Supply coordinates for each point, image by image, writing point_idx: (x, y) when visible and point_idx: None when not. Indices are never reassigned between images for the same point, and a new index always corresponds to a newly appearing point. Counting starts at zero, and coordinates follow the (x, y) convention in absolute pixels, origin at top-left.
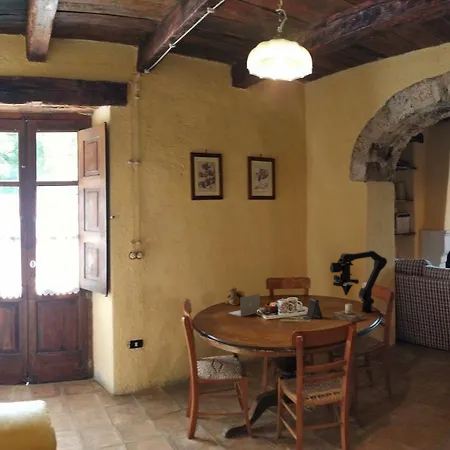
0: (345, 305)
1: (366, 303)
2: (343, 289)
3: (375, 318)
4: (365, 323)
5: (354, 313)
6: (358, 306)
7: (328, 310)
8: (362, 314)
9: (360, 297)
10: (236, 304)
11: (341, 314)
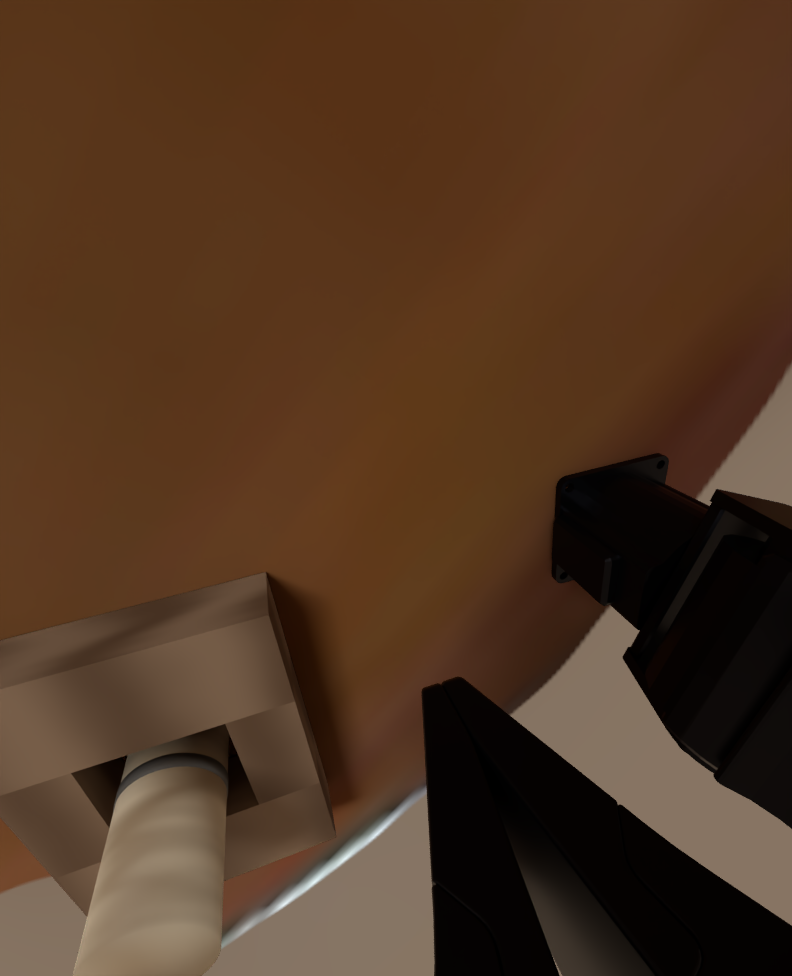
0: (77, 957)
1: (640, 628)
2: (437, 961)
3: None
4: (235, 889)
5: (258, 786)
6: (766, 200)
7: (110, 138)
8: (320, 826)
9: (708, 615)
10: None
11: (27, 818)
